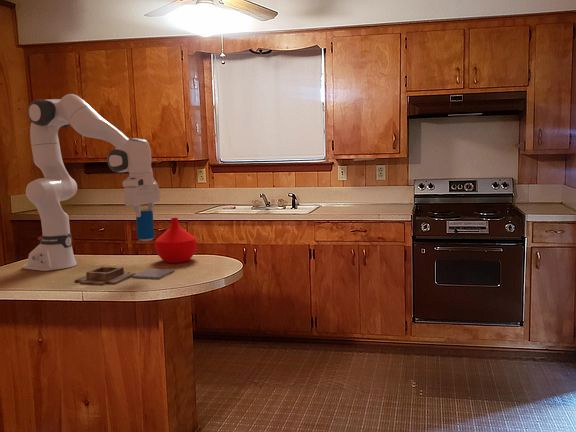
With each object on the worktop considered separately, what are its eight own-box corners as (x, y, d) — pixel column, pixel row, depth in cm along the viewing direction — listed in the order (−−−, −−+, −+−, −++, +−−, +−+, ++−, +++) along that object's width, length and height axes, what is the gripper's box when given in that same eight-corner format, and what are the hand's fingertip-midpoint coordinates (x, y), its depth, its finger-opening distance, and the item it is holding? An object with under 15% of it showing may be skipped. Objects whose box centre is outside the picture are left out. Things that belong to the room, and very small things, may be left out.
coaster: (132, 277, 222) (132, 275, 222) (148, 270, 233) (148, 268, 233) (159, 279, 218) (159, 277, 218) (174, 271, 229) (174, 269, 229)
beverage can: (138, 238, 226) (136, 209, 224) (155, 237, 226) (153, 208, 225) (136, 241, 219) (134, 211, 217) (153, 240, 220) (151, 210, 218)
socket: (71, 283, 216) (70, 274, 215) (100, 272, 233) (99, 263, 232) (112, 285, 211) (111, 276, 210) (138, 273, 228) (137, 265, 227)
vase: (148, 265, 243) (145, 221, 240) (166, 255, 261) (164, 215, 258) (188, 266, 239) (185, 221, 236) (204, 256, 257) (201, 215, 254)
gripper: (148, 178, 230) (151, 211, 232) (119, 182, 211) (122, 219, 213) (162, 177, 228) (165, 211, 230) (134, 182, 209) (137, 219, 211)
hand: (144, 215), depth 221 cm, fingers closed on beverage can, 6 cm apart
